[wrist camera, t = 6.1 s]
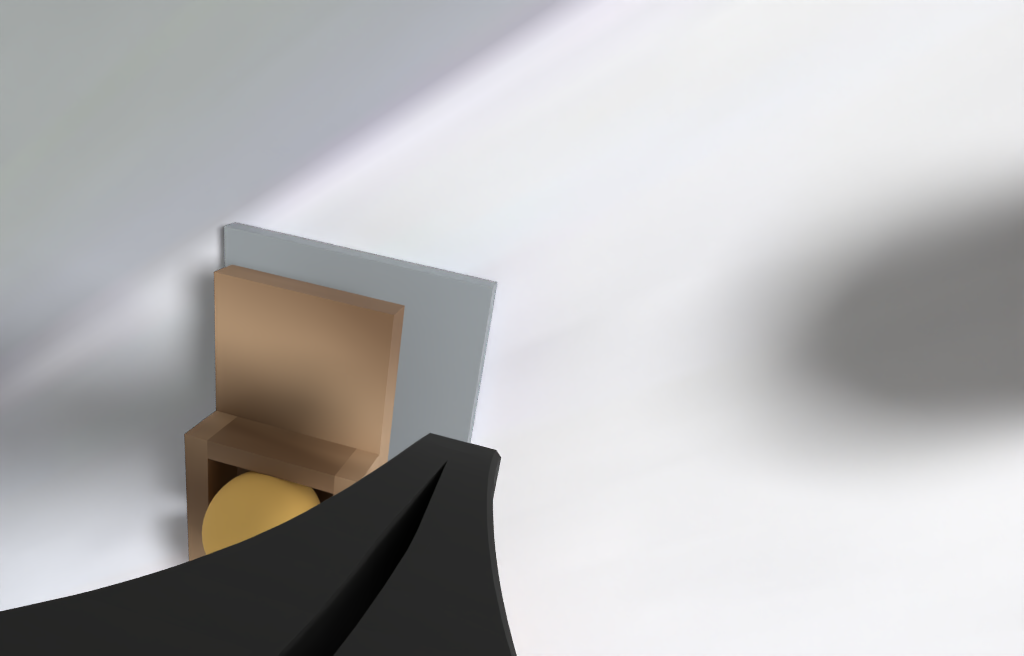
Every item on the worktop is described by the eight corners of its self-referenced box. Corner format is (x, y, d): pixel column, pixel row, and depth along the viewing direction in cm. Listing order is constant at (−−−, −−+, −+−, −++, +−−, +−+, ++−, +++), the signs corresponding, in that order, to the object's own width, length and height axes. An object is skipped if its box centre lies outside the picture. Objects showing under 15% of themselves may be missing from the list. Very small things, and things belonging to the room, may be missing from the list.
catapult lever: (371, 661, 23) (340, 725, 20) (229, 616, 23) (183, 674, 21) (413, 305, 17) (377, 338, 15) (227, 261, 18) (166, 287, 16)
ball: (305, 610, 18) (274, 586, 15) (205, 580, 19) (157, 551, 16) (350, 505, 20) (328, 467, 17) (257, 478, 20) (221, 438, 18)
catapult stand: (442, 610, 25) (404, 705, 21) (236, 549, 26) (165, 628, 22) (497, 282, 20) (460, 329, 16) (235, 222, 21) (141, 253, 17)
